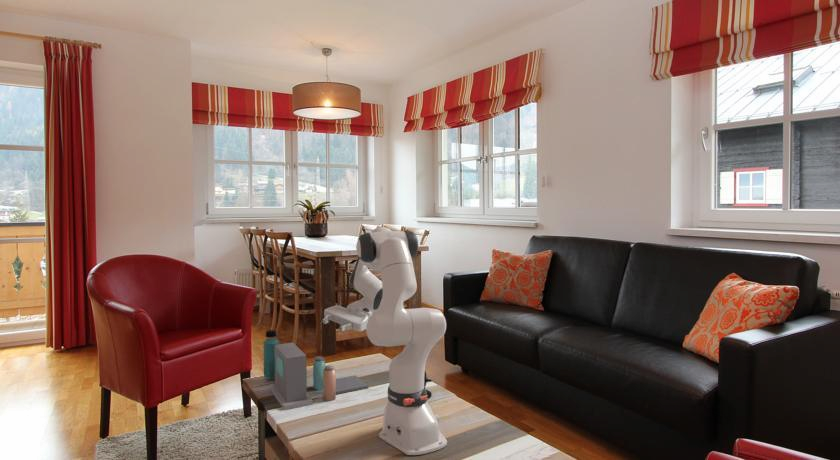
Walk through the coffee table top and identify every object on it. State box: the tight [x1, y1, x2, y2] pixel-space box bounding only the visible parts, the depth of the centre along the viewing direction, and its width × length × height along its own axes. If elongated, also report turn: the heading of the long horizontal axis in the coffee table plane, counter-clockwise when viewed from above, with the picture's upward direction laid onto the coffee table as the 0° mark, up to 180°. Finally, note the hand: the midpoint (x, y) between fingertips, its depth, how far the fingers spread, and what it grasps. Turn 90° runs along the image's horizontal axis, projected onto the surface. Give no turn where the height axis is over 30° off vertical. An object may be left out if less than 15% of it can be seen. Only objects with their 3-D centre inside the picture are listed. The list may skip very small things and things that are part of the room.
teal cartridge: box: [312, 355, 326, 391], centre depth 192 cm, size 4×4×12 cm
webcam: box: [424, 370, 433, 399], centre depth 185 cm, size 8×8×10 cm
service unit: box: [269, 342, 314, 411], centre depth 184 cm, size 22×10×18 cm, turn 29°
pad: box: [336, 374, 369, 396], centre depth 195 cm, size 13×13×1 cm
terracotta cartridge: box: [322, 364, 337, 402], centre depth 182 cm, size 4×4×12 cm
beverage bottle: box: [262, 329, 280, 379], centre depth 201 cm, size 6×7×20 cm
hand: (332, 325), depth 196 cm, fingers open, 8 cm apart
